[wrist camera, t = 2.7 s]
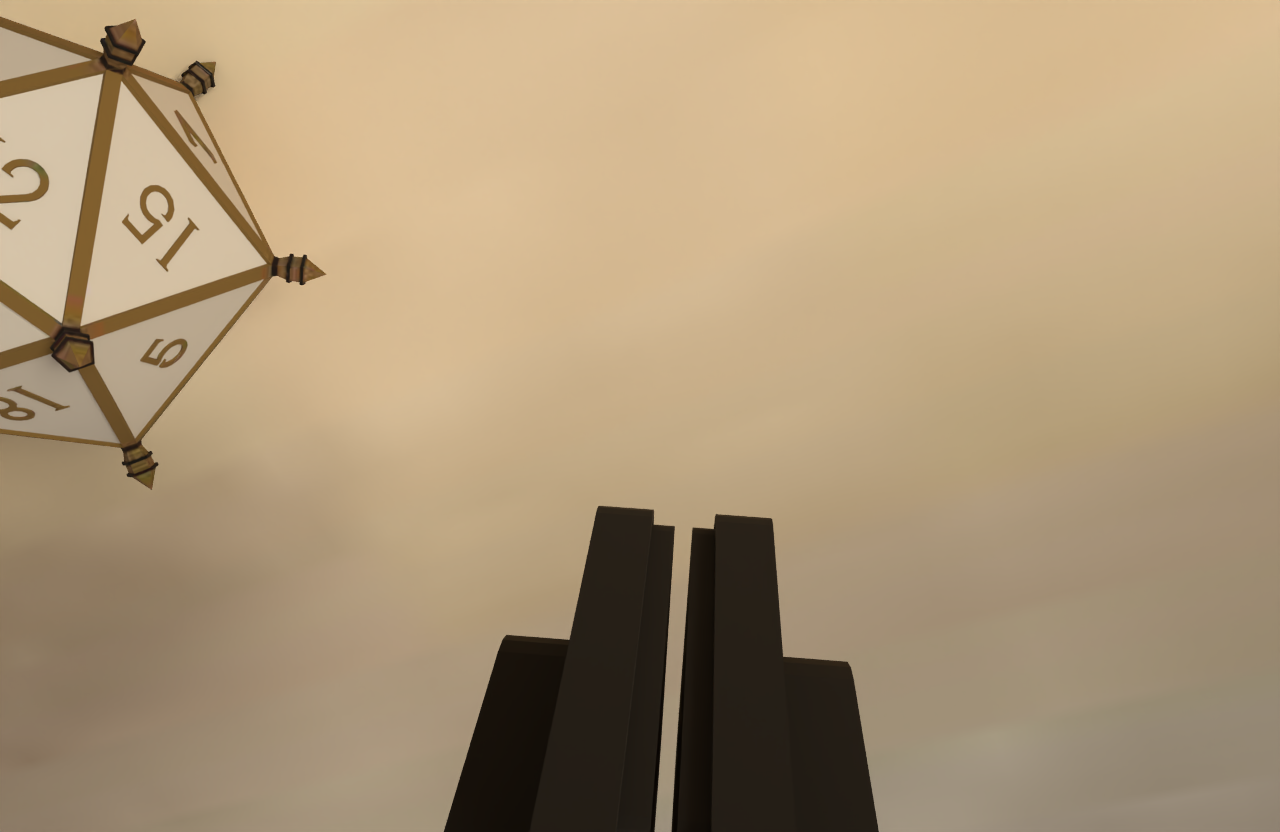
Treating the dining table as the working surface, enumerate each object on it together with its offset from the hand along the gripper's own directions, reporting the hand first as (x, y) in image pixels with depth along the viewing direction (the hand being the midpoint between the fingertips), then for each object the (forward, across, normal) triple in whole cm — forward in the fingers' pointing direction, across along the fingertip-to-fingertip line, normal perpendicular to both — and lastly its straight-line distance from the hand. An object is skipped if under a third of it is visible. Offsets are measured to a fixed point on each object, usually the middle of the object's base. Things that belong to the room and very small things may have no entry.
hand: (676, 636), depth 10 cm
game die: (+13, +12, -1) cm, 17 cm away
